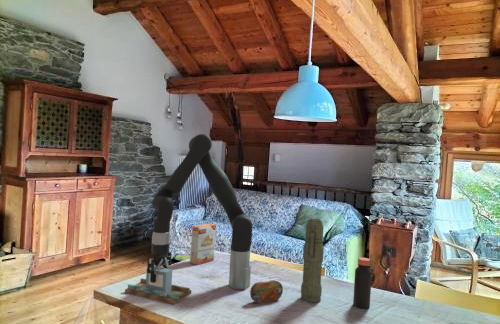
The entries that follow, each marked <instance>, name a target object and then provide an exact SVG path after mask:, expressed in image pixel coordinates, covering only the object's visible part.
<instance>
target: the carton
mask: <svg viewBox="0 0 500 324" xmlns="http://www.w3.org/2000/svg"><path fill="white" fill-rule="evenodd" d="M150 270H151V268H150ZM154 270H155V269H154ZM150 275H151V274H150V273H147V271H146V273H145V277H146V278H145V279H146V288H150V289H155V290H159V291H164V292H169V291H171V286H172V285H173V269H171V268H168V269H166V268H164V267H162V266H160V267H159V269H158V270H157V272H156V282H155V283H152V282H151V281H150Z"/></svg>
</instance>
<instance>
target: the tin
mask: <svg viewBox="0 0 500 324" xmlns="http://www.w3.org/2000/svg"><path fill="white" fill-rule="evenodd" d="M283 292H284V288H283V285H282V283H281V282H280V281H278V280H273V279H271V280H265V281H259V282H256V283H255V282H254V284H253V285H252V286H251V288H250V290H249V296H250V298H251V300H252V301H253V302H255V303H256V304H265V303H271V302H276V301H278V300H279V299H280V298H281V297H282V295H283Z"/></svg>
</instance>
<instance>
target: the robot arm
mask: <svg viewBox="0 0 500 324" xmlns="http://www.w3.org/2000/svg"><path fill="white" fill-rule="evenodd" d="M212 145H213V141H212V139H211V137H210V136H209V135H207V134H204V133H200V134H197V135H195V136H194V137H192V138H191V139H190V140H189V142H188V149H189V151H188V152H187V154H186V156H185V157H184V158H183V160H182V161H181V162H180V163H179V164H178V166H177V167H176V169H175V170H174V171H173V172H172V174H171V175H170V177H169V179H168V180H167V182H166V184H165V185H164V186H163V187H161V189H160V190H158V192H157V193H156V194H155V196H154V197H153V199H152V202H151V206H152V208H153V209H154V210H155V211H157V215H156V218H154V219H153V226H152V228H153V229H152V235H151V254H152V255H153V256H152V258H148V259H147V266H146V272H147V273H150V274H151V275H150V281H151V282H152V283H155V282H156V272H157V270H158V269H159V267H162V268H166V269H170V266H172V252H171V251H170V248H171V247H170V246H171V245H170V243H171V234H170V233H171V232H170V231H171V220H172V217H173V213H174V206H175V205H174V201H173V199H172V198H173V197H174V196H177V195H179V194H180V192H181V191H182V189H183V188H184V187H185V185H186V183H187V182H188V180H189V178H190V177H191V175H192V173H193V172H194V170H195V169H196V167H197V166H198V165H199V167H200V169H201V171H202V173H203V175H204V178H205V179H206V181H207V183H208V186H209V187H210V189H211V191H212V193H213V195H214V197H215V198H216V200H217V201H218V203H219V204H220V205H221V207H222V208H223V210H224V211H225V213H226V215H227V217H228V220H229V223H230V226H231V229H232V230H231V242H230V252H229V253H230V256H229V270H228V271H229V275H228V287H229V288H230V289H233V290H247V289H248V288H249V287H250V285H251V271H252V270H251V269H252V266H251V265H250V264H251V261H250V258H251V247H252V237H253V223H252V220H251V219H250V218H249V217H248V216H247V215H246V213H245V211H244V210H243V208H242V207H241V205H240V204H239V201H238V198H237V195H236V193H235V190H234V188H233V185H232V183H231V181H230V179H229V177H228V176H227V174H226V173H225V171H224V170H223V169H222V168H221V167H220V166H219V164H217V162H216V161H215V159H214V158H213V155H212V154H211V151H210V150H211V149H212ZM150 268H151V270H150ZM154 269H155V270H154Z"/></svg>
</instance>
